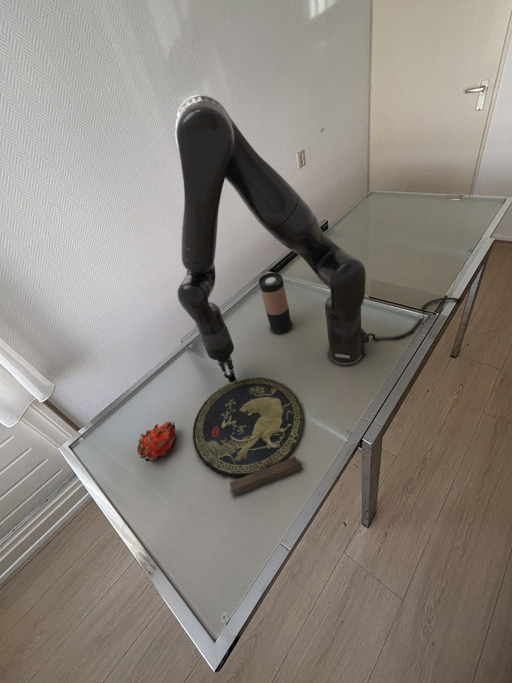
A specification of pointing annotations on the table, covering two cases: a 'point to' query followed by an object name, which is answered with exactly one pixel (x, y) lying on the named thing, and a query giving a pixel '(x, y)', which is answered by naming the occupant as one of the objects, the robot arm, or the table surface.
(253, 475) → the rail
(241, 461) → the decorative plate
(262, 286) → the travel mug
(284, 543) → the table surface
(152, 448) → the dragon fruit
